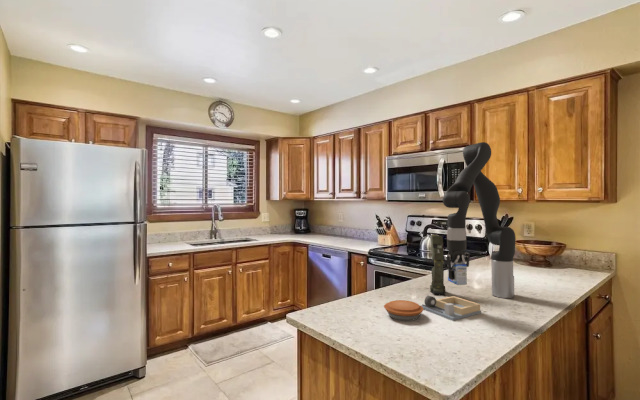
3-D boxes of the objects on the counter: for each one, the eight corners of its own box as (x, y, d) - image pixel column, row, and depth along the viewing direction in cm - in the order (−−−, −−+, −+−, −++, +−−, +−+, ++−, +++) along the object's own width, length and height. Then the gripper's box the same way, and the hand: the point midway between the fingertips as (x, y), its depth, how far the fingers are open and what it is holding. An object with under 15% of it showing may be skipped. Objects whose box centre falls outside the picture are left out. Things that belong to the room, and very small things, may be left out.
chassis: (447, 301, 150) (447, 290, 150) (481, 313, 135) (480, 300, 135) (420, 307, 142) (419, 296, 142) (452, 320, 127) (452, 307, 127)
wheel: (431, 304, 142) (431, 294, 142) (436, 306, 139) (436, 296, 139) (424, 306, 140) (424, 296, 140) (429, 308, 137) (429, 298, 137)
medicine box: (447, 280, 142) (447, 260, 142) (457, 280, 142) (457, 260, 142) (456, 285, 134) (456, 264, 134) (467, 284, 135) (466, 263, 135)
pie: (395, 325, 123) (395, 311, 123) (377, 311, 138) (377, 299, 138) (431, 320, 127) (431, 307, 127) (410, 308, 142) (410, 296, 142)
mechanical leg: (448, 296, 155) (445, 233, 162) (432, 295, 157) (430, 233, 164) (443, 294, 168) (441, 236, 175) (429, 294, 170) (426, 236, 177)
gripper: (460, 236, 145) (460, 274, 145) (437, 238, 138) (437, 278, 138) (475, 238, 138) (476, 278, 138) (452, 240, 132) (452, 282, 132)
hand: (456, 278), depth 138 cm, fingers closed on medicine box, 5 cm apart
